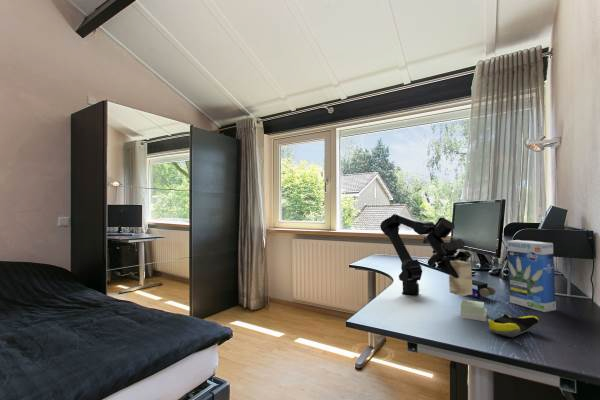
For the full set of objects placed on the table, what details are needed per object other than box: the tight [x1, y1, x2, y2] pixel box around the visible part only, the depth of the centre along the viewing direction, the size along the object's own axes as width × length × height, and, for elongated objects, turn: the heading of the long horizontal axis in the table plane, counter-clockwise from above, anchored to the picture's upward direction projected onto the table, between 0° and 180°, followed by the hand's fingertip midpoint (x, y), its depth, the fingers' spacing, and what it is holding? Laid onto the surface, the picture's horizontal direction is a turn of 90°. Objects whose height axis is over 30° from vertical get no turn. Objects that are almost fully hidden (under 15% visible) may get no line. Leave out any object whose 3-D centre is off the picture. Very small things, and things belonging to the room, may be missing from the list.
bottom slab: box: [459, 308, 488, 322], centre depth 108 cm, size 8×8×2 cm
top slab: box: [460, 299, 486, 315], centre depth 108 cm, size 7×7×2 cm
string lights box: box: [506, 239, 557, 313], centre depth 117 cm, size 13×8×26 cm, turn 21°
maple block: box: [448, 261, 473, 297], centre depth 113 cm, size 6×6×12 cm
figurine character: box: [470, 279, 497, 301], centre depth 131 cm, size 7×8×15 cm
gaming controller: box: [487, 313, 540, 338], centre depth 92 cm, size 15×6×10 cm
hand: (463, 276), depth 112 cm, fingers closed on maple block, 5 cm apart
